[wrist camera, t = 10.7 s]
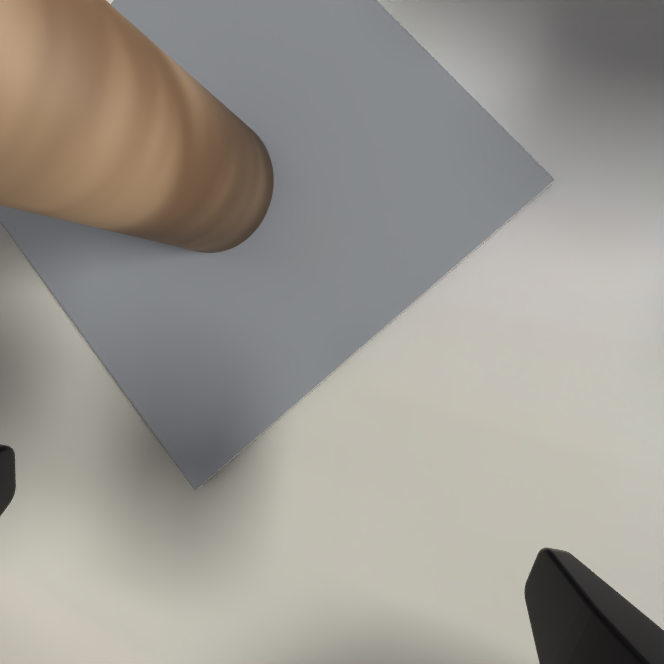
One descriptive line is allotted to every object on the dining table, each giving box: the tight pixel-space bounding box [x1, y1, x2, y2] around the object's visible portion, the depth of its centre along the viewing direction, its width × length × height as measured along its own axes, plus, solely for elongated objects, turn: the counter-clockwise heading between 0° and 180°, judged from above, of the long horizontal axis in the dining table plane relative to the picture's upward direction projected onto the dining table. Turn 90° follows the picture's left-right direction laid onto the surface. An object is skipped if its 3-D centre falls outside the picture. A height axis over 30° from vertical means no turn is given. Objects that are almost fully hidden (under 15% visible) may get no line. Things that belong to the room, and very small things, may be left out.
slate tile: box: [0, 0, 554, 490], centre depth 18 cm, size 18×18×1 cm
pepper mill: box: [0, 0, 274, 253], centre depth 12 cm, size 5×5×13 cm
